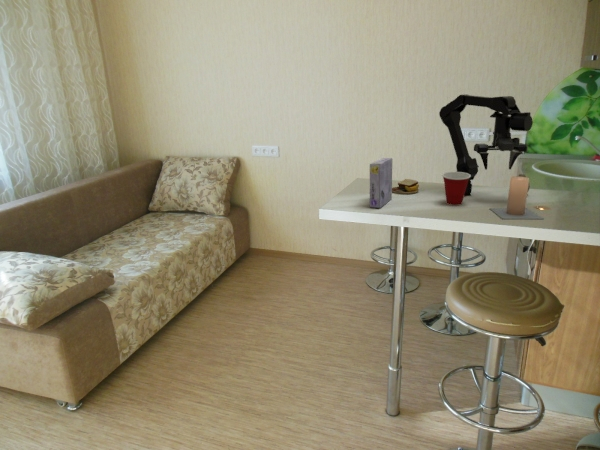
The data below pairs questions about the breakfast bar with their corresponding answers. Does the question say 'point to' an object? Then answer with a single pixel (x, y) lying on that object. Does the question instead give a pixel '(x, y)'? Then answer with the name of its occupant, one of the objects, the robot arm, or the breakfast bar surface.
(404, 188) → the toy sandwich meal
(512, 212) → the terracotta canister
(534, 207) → the copper marker
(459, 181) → the plastic cup
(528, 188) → the vase
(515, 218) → the pad
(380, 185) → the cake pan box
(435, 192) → the breakfast bar surface
